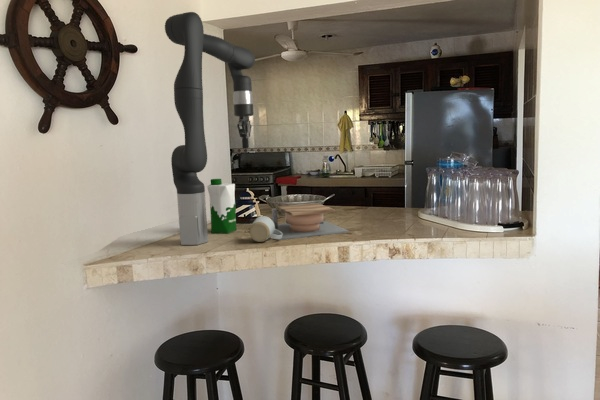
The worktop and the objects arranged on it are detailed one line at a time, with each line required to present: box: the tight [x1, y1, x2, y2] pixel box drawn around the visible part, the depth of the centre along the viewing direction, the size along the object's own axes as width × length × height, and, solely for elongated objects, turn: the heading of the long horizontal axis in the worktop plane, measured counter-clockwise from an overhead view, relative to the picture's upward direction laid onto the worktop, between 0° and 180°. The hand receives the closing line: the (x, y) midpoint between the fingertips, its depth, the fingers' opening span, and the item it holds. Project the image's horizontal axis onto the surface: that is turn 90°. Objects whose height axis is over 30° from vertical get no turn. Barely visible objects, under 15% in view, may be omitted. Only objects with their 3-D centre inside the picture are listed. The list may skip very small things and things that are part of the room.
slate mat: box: [273, 219, 350, 241], centre depth 172 cm, size 26×26×1 cm
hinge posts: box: [271, 208, 323, 229], centre depth 176 cm, size 2×20×8 cm, turn 109°
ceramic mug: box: [249, 215, 283, 243], centre depth 155 cm, size 11×8×8 cm
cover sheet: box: [277, 202, 336, 216], centre depth 167 cm, size 18×16×1 cm
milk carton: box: [206, 178, 237, 234], centre depth 173 cm, size 9×9×20 cm
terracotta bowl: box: [284, 212, 324, 232], centre depth 169 cm, size 14×14×7 cm
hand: (245, 148), depth 181 cm, fingers closed
